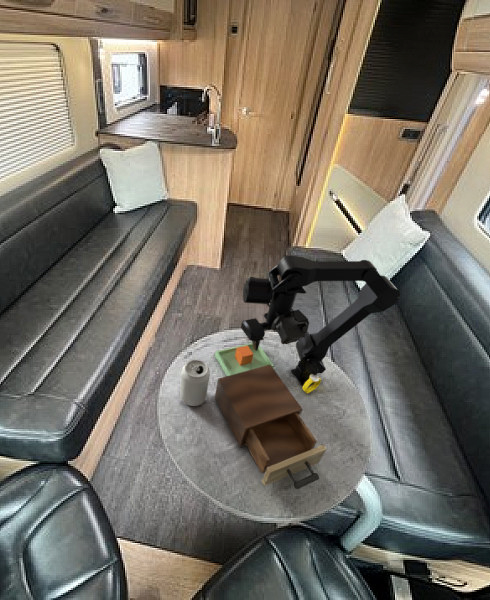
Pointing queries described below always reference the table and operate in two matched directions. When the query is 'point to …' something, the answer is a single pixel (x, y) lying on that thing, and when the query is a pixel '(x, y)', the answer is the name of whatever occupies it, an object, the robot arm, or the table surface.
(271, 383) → the cabinet
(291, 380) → the table surface
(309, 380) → the watch
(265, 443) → the drawer
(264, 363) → the tray
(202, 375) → the can
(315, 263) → the robot arm
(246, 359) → the cube
